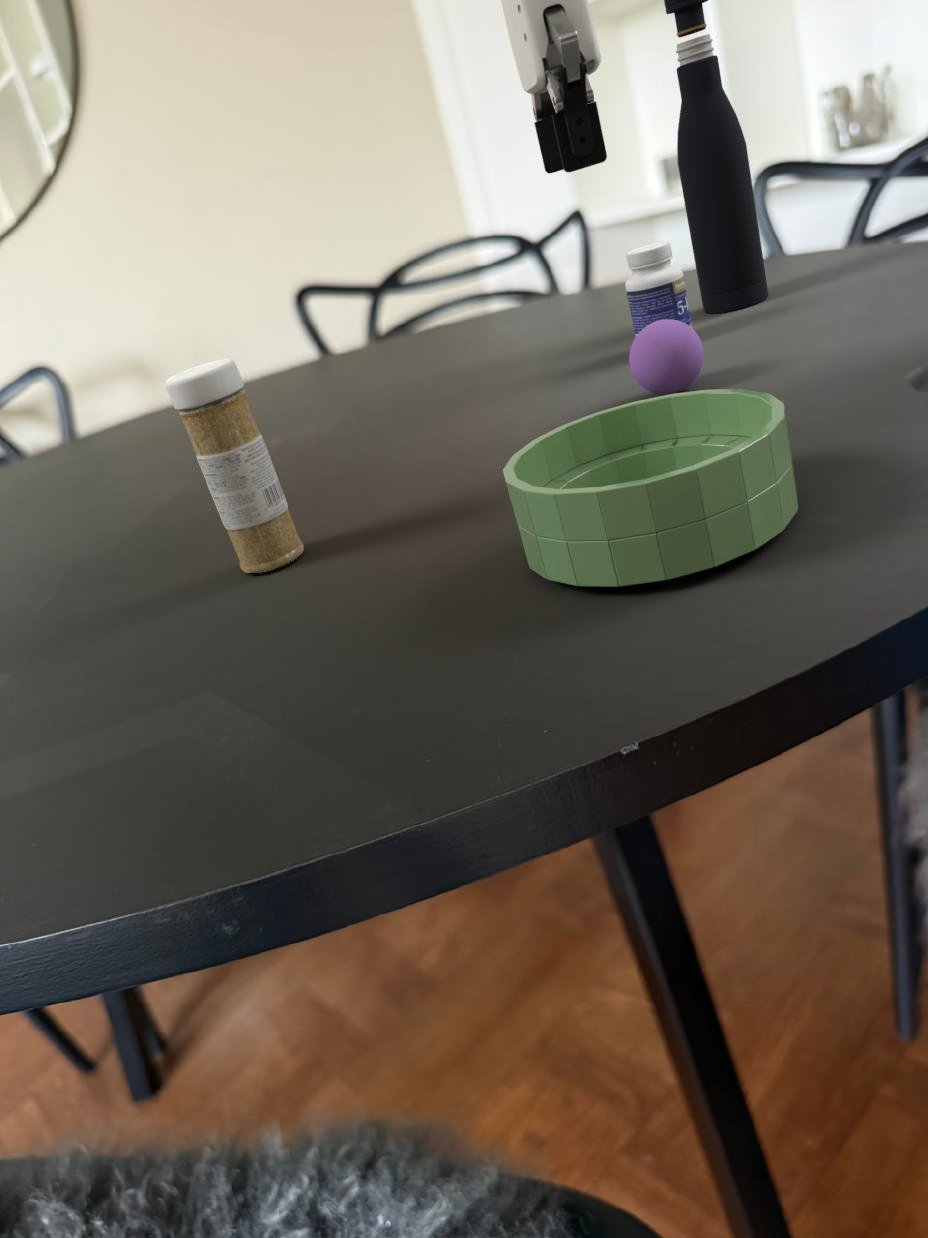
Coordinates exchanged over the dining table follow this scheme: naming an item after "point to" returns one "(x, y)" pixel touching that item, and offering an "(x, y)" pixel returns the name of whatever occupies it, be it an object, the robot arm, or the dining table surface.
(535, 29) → the robot arm
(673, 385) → the ball
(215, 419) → the spice jar
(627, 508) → the bowl
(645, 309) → the pill bottle
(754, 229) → the black water bottle
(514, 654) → the dining table surface
